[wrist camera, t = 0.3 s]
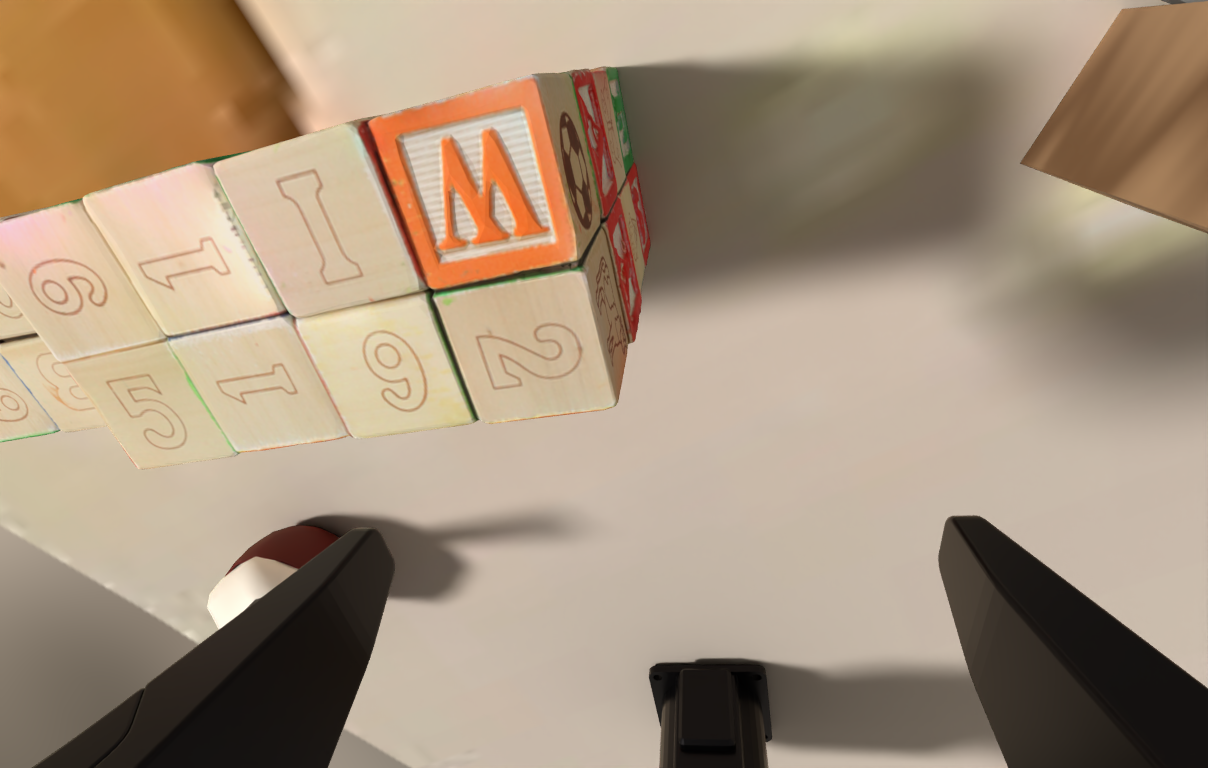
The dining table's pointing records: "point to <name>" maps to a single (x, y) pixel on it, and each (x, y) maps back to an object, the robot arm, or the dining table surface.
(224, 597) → the cocoa
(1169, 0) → the mat
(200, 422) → the stack of blocks
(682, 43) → the dining table surface
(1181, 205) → the walnut block
